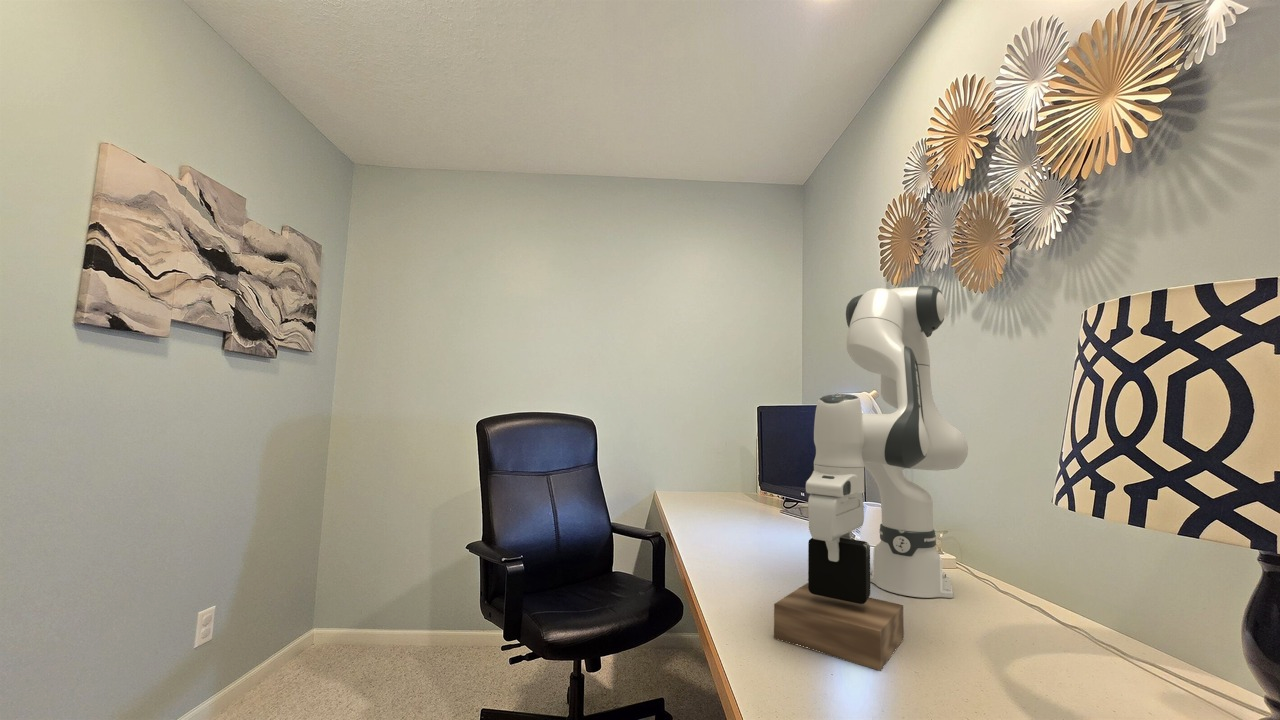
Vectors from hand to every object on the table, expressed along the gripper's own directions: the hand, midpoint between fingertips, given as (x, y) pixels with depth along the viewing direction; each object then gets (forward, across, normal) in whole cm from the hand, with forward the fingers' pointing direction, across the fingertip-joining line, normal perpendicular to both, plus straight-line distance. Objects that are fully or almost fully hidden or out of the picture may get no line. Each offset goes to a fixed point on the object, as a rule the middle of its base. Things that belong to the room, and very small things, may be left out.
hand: (838, 558), depth 98 cm
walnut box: (+14, 0, 0) cm, 14 cm away
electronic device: (+7, 0, 0) cm, 7 cm away
